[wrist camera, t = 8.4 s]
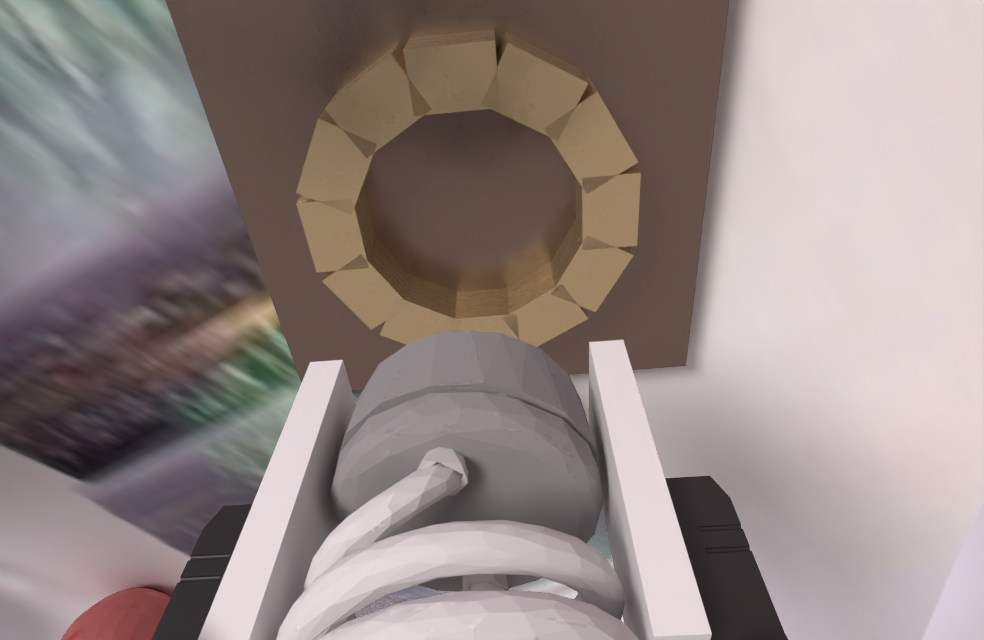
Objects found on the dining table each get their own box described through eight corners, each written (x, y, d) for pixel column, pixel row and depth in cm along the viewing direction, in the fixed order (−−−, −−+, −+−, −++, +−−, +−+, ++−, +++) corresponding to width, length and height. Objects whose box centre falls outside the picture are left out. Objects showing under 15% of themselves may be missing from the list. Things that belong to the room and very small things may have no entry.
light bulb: (604, 397, 17) (765, 1100, 7) (420, 447, 18) (331, 1114, 8) (542, 224, 14) (672, 1026, 4) (326, 296, 15) (1, 1064, 5)
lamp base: (312, 373, 30) (294, 423, 27) (171, -47, 20) (117, -39, 17) (677, 346, 29) (698, 394, 26) (725, -108, 19) (767, -110, 16)
